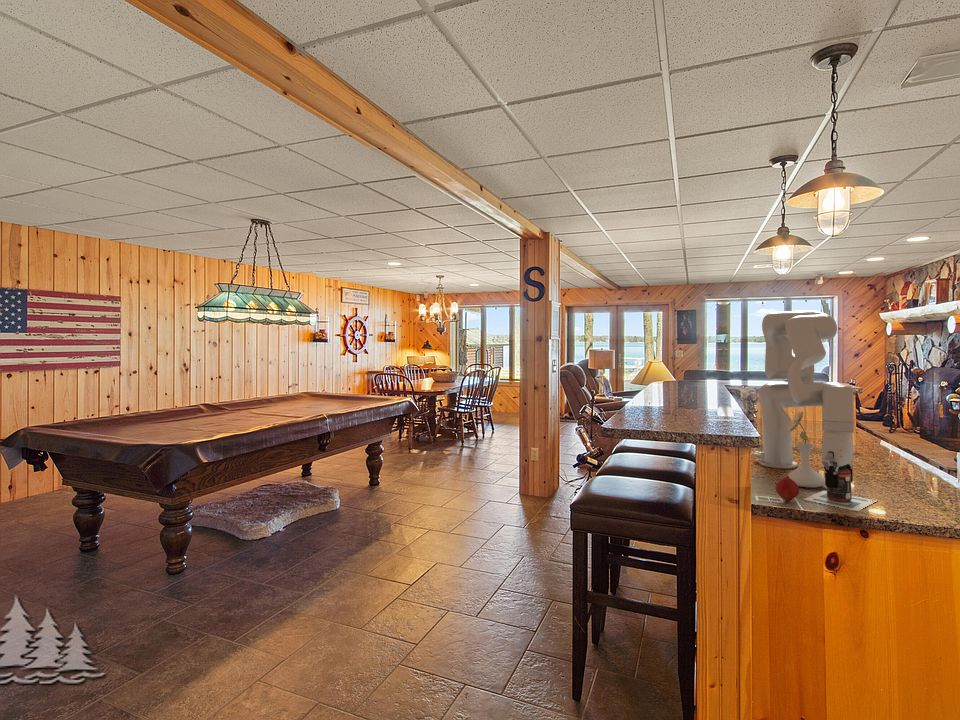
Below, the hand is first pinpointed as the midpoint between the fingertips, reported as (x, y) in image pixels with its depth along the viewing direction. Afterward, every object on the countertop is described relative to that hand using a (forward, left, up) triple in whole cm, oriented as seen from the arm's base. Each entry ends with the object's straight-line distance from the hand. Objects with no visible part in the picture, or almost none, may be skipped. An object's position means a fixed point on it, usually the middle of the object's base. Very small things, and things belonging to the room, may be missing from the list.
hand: (839, 484), depth 147 cm
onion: (-9, -12, -5) cm, 16 cm away
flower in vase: (-13, +9, -5) cm, 16 cm away
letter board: (0, 0, -5) cm, 5 cm away
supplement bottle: (0, 0, -5) cm, 5 cm away
